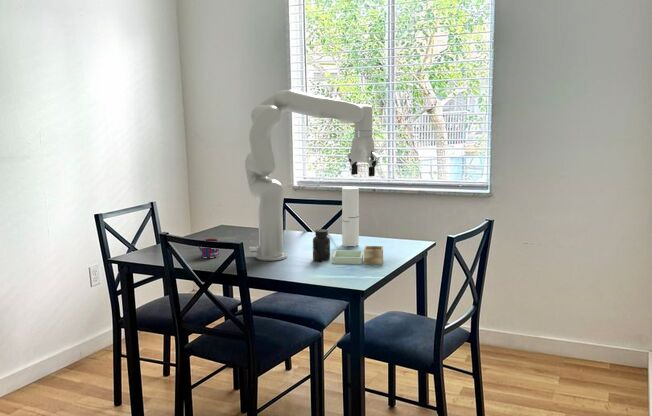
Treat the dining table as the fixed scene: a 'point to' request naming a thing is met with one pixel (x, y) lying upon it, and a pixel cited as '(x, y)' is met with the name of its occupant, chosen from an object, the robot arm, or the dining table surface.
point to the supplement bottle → (321, 246)
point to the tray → (347, 257)
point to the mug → (209, 250)
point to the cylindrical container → (350, 216)
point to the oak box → (373, 255)
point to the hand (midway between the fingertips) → (362, 175)
